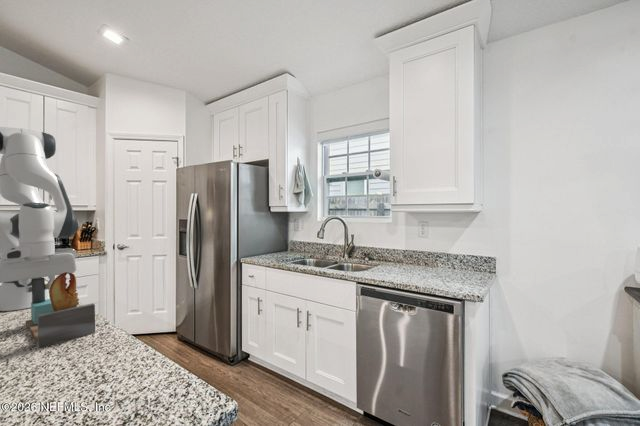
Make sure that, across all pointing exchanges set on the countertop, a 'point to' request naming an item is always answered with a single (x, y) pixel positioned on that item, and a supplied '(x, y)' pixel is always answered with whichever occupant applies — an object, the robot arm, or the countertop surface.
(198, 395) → the countertop surface
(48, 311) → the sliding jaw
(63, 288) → the crab claw
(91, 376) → the countertop surface
